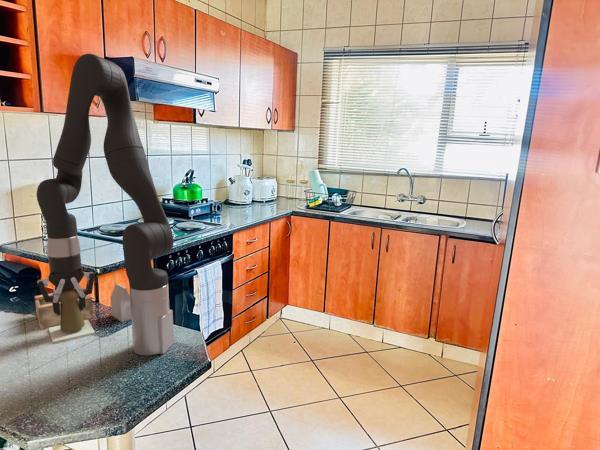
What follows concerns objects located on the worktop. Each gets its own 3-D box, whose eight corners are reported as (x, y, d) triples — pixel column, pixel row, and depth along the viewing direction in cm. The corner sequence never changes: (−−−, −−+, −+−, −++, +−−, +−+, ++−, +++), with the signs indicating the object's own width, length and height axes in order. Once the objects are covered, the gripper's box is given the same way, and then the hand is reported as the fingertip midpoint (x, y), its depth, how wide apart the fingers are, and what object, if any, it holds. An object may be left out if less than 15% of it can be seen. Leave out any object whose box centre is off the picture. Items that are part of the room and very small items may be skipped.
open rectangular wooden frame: (86, 305, 132) (84, 287, 131) (93, 317, 124) (91, 297, 122) (36, 315, 124) (34, 296, 123) (40, 328, 116) (38, 308, 114)
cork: (74, 332, 111) (69, 294, 108) (55, 330, 112) (49, 292, 109) (89, 322, 116) (85, 286, 114) (71, 320, 118) (66, 284, 115)
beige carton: (121, 322, 121) (119, 290, 119) (111, 315, 125) (109, 284, 123) (133, 318, 124) (131, 287, 122) (123, 312, 128) (121, 281, 126)
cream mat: (87, 321, 121) (87, 319, 121) (95, 333, 113) (94, 331, 113) (48, 329, 115) (48, 327, 115) (53, 343, 107) (53, 341, 107)
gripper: (90, 246, 117) (95, 302, 120) (31, 253, 108) (38, 313, 112) (96, 251, 111) (101, 310, 114) (33, 259, 103) (41, 323, 106)
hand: (69, 311), depth 113 cm, fingers open, 5 cm apart
